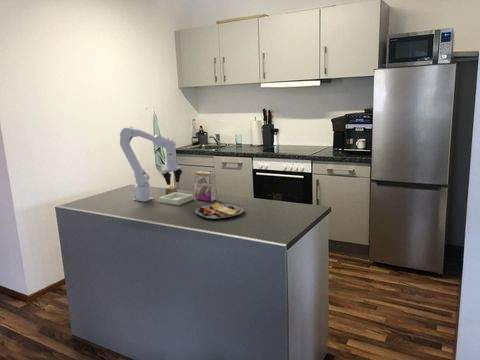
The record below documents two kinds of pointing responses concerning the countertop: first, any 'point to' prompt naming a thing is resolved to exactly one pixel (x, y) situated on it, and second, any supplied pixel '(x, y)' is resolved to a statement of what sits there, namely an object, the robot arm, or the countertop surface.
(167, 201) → the pale green tray
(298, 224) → the countertop surface
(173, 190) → the walnut block
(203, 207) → the food plate
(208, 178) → the candy bar box
